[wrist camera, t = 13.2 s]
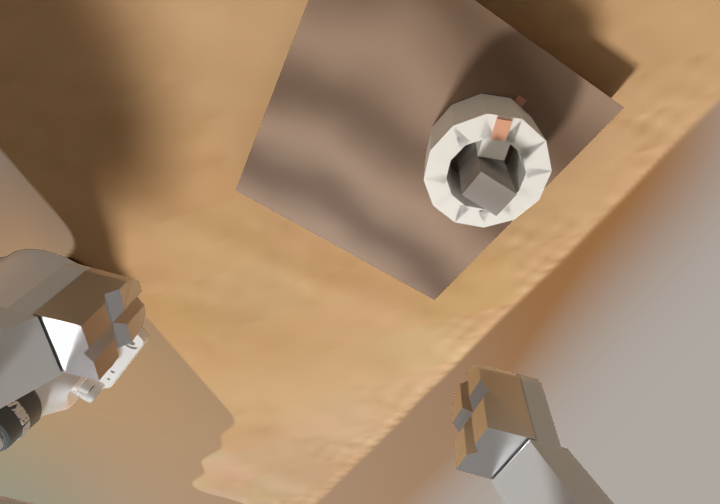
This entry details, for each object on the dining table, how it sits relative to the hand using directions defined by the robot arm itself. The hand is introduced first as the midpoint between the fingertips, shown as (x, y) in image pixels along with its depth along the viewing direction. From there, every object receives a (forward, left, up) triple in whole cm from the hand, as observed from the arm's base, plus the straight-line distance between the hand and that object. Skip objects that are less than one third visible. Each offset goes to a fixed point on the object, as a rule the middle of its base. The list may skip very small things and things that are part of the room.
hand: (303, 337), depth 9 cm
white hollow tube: (+2, -6, -18) cm, 19 cm away
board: (-1, -2, -20) cm, 20 cm away
